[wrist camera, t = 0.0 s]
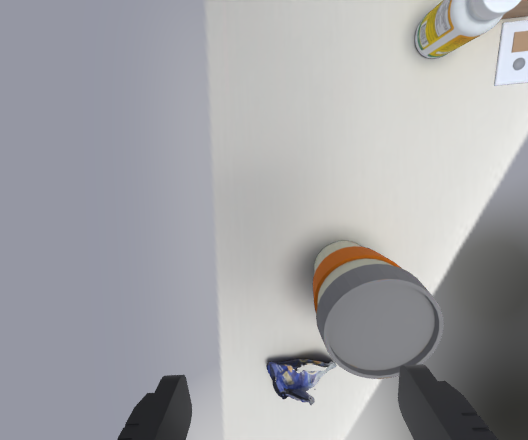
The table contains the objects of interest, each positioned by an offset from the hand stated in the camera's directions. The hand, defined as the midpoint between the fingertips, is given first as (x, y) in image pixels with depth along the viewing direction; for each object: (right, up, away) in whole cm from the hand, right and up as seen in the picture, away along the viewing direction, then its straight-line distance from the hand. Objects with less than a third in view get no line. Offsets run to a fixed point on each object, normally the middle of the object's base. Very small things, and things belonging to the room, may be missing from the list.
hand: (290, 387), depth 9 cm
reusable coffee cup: (+12, -1, +31) cm, 33 cm away
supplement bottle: (+21, +30, +22) cm, 42 cm away
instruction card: (+31, +28, +22) cm, 47 cm away
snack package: (+5, -21, +36) cm, 42 cm away
